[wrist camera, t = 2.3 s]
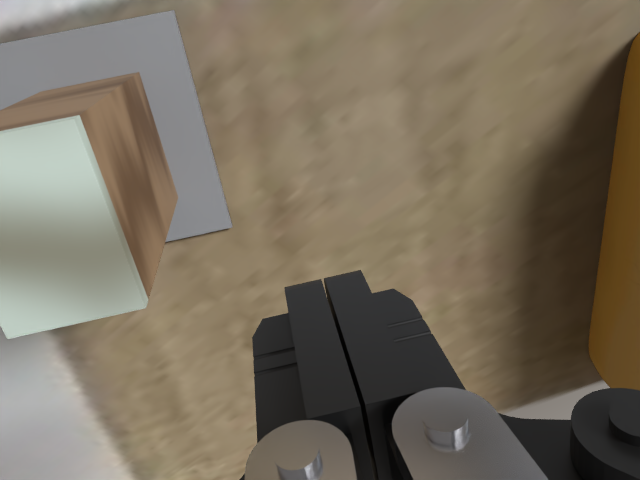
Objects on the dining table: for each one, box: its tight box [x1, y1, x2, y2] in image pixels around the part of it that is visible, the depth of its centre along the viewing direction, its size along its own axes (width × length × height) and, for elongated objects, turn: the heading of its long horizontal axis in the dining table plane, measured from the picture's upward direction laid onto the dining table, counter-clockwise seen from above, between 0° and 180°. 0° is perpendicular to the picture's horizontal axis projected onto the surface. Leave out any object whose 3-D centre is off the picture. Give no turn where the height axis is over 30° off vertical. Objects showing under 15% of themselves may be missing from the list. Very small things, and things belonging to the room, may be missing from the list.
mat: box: [0, 10, 232, 242], centre depth 28 cm, size 12×22×1 cm, turn 100°
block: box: [0, 72, 178, 339], centre depth 23 cm, size 7×5×12 cm
